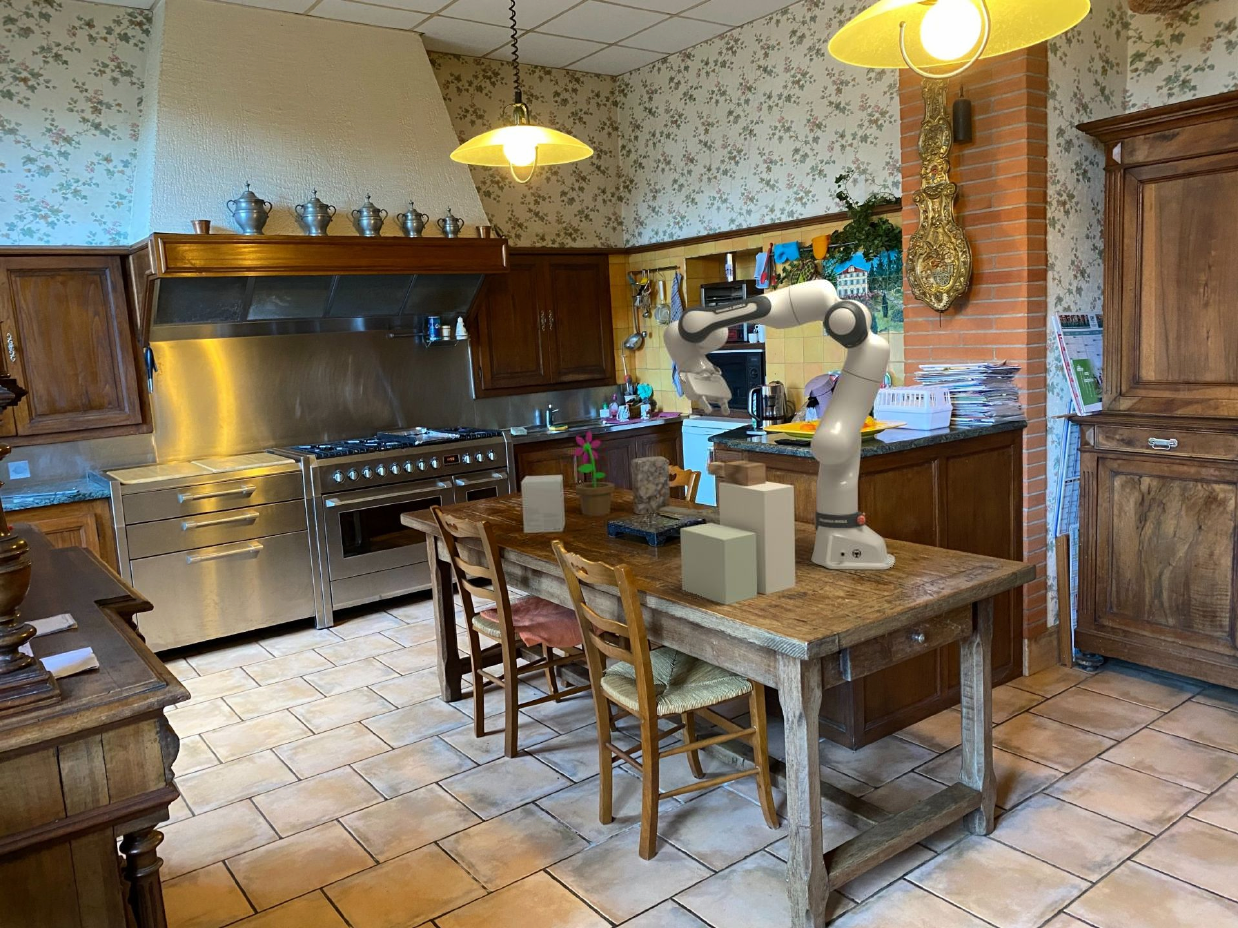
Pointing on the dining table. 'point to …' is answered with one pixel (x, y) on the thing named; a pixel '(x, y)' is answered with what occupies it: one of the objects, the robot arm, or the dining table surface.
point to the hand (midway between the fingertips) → (718, 413)
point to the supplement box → (543, 503)
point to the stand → (742, 545)
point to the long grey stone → (696, 513)
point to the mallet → (739, 472)
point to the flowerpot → (596, 493)
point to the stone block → (650, 484)
